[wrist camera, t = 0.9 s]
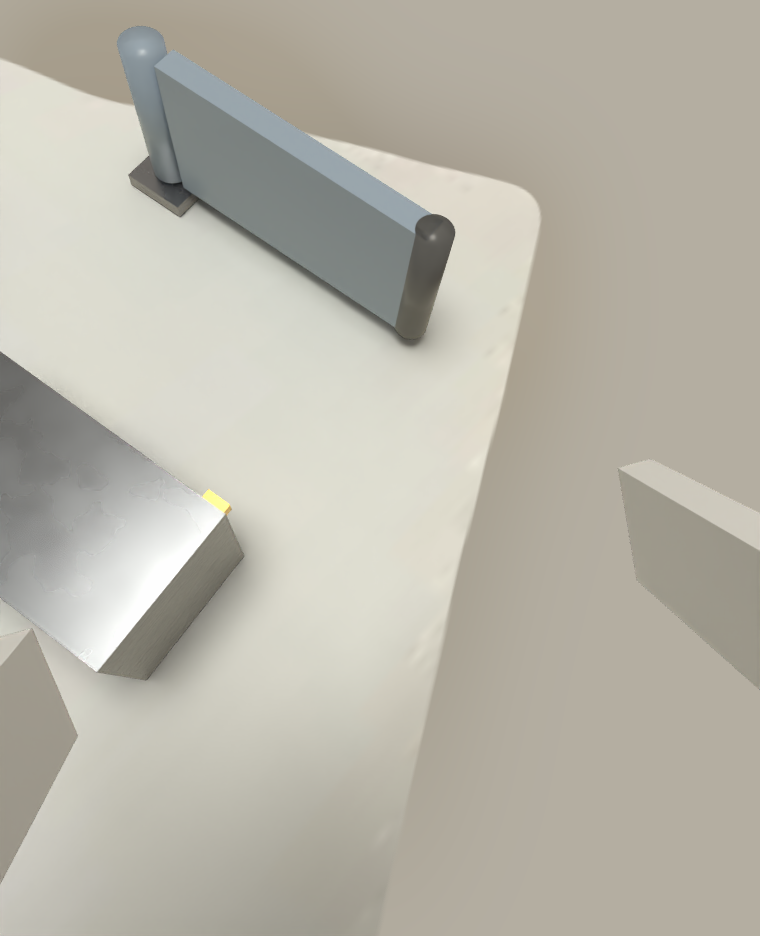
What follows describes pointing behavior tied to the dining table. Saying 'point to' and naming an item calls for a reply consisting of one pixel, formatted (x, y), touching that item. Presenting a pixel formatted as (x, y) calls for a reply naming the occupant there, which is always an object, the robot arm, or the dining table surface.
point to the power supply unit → (100, 534)
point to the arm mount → (162, 189)
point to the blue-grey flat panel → (286, 186)
